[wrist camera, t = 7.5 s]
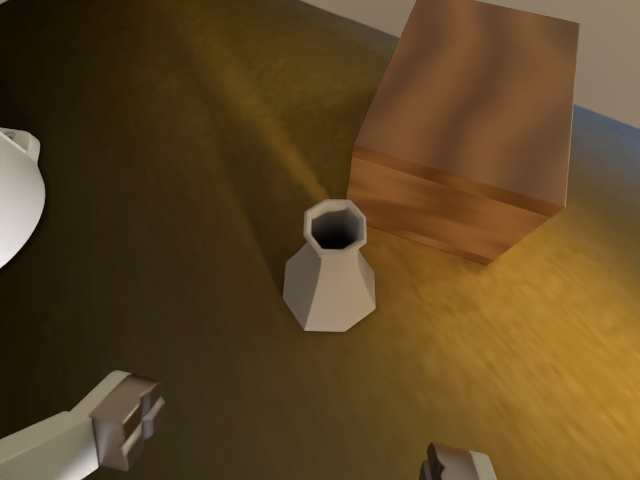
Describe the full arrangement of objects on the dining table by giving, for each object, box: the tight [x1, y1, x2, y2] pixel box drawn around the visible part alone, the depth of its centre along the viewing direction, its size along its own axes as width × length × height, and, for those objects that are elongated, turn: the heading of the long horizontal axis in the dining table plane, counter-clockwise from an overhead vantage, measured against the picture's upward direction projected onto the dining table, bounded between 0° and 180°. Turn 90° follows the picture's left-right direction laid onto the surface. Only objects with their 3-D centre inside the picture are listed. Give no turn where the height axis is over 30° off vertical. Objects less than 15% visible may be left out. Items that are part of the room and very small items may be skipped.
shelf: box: [346, 0, 580, 265], centre depth 26 cm, size 12×17×9 cm
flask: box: [283, 199, 376, 332], centre depth 20 cm, size 7×7×10 cm
